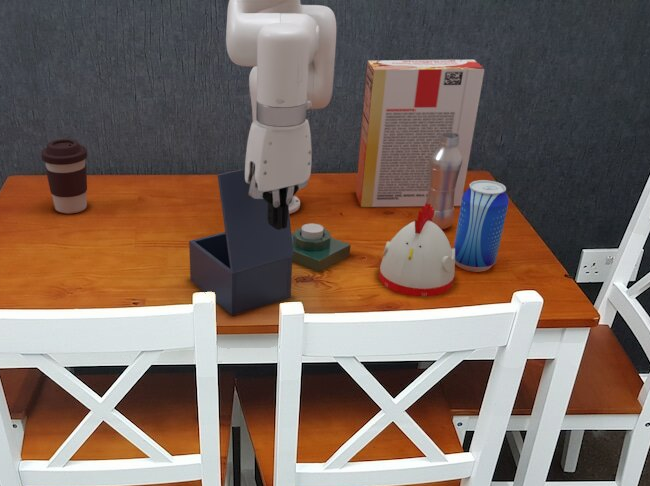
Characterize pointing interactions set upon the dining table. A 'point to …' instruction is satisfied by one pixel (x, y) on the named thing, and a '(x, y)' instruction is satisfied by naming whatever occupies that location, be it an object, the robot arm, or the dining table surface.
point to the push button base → (318, 250)
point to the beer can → (480, 225)
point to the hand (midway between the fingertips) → (277, 226)
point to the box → (237, 276)
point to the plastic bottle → (444, 179)
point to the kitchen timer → (419, 259)
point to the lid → (250, 225)
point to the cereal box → (413, 126)
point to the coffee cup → (66, 174)
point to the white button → (312, 231)
